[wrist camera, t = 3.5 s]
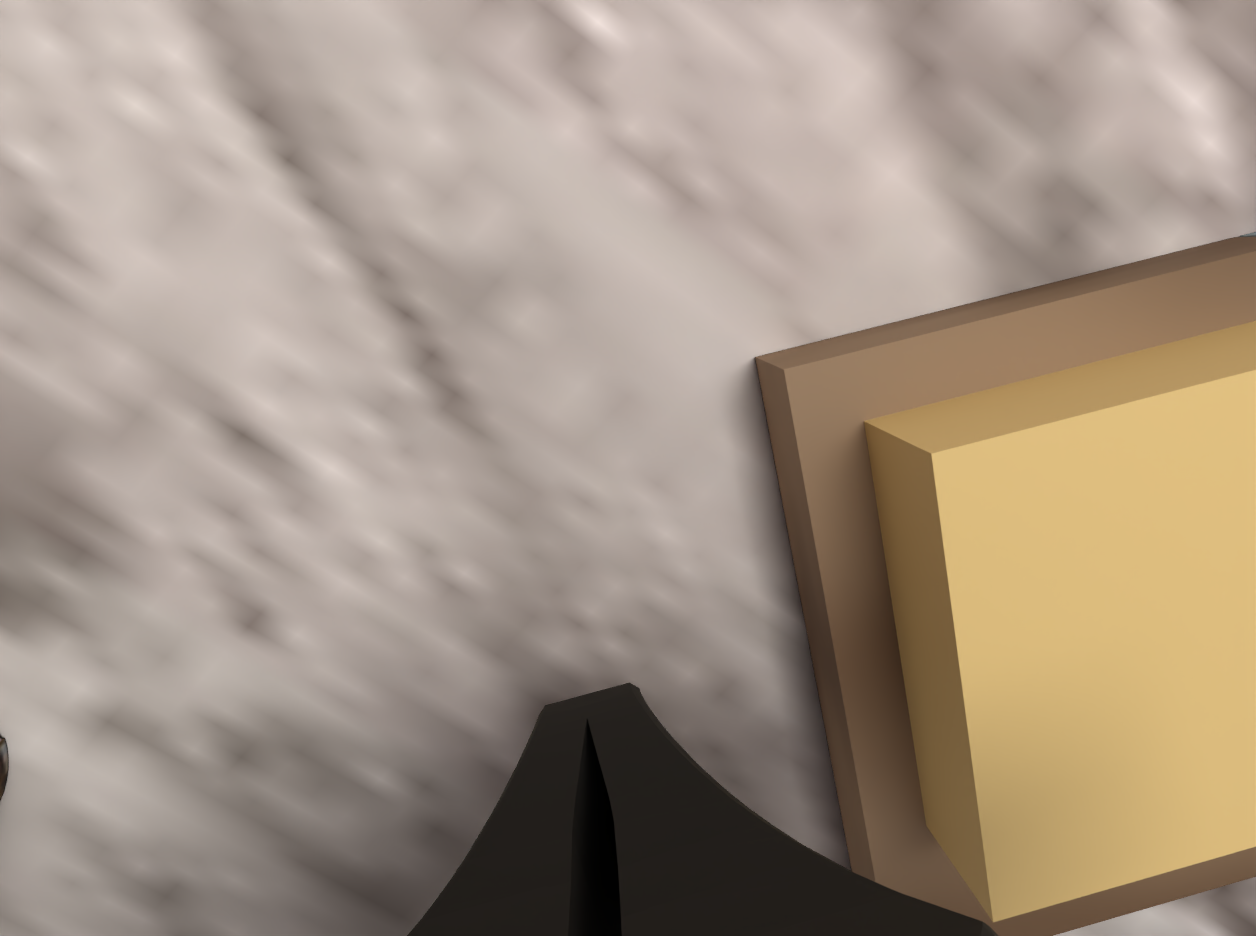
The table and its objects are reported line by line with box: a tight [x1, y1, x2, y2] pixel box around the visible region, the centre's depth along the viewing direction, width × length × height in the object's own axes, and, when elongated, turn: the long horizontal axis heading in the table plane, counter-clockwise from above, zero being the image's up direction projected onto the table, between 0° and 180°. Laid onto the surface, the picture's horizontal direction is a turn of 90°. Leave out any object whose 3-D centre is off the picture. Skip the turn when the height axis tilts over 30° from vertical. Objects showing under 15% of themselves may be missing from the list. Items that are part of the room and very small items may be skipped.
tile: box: [864, 321, 1256, 922], centre depth 11 cm, size 7×6×2 cm
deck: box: [755, 237, 1256, 936], centre depth 13 cm, size 11×8×2 cm
